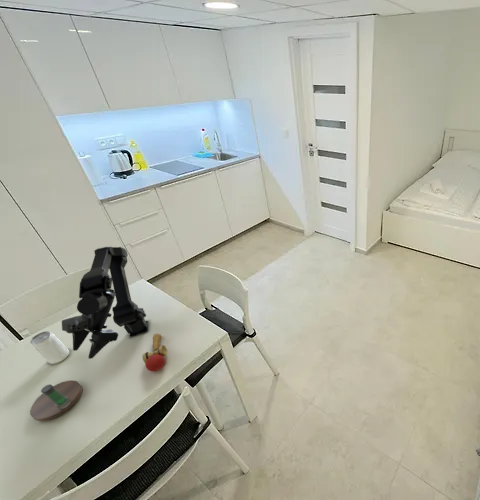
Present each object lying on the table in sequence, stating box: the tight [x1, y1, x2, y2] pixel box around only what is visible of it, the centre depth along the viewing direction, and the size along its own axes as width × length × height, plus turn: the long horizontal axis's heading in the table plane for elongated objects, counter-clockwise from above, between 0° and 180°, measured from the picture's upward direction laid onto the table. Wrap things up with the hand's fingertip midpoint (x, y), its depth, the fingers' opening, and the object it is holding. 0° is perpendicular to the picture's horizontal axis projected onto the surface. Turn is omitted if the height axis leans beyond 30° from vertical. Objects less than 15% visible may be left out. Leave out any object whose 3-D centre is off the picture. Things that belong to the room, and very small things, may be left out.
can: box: [29, 331, 70, 365], centre depth 109 cm, size 6×6×12 cm
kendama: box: [141, 333, 169, 373], centre depth 111 cm, size 8×6×18 cm
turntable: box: [29, 380, 83, 422], centre depth 94 cm, size 13×13×11 cm
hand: (82, 354), depth 97 cm, fingers open, 8 cm apart
